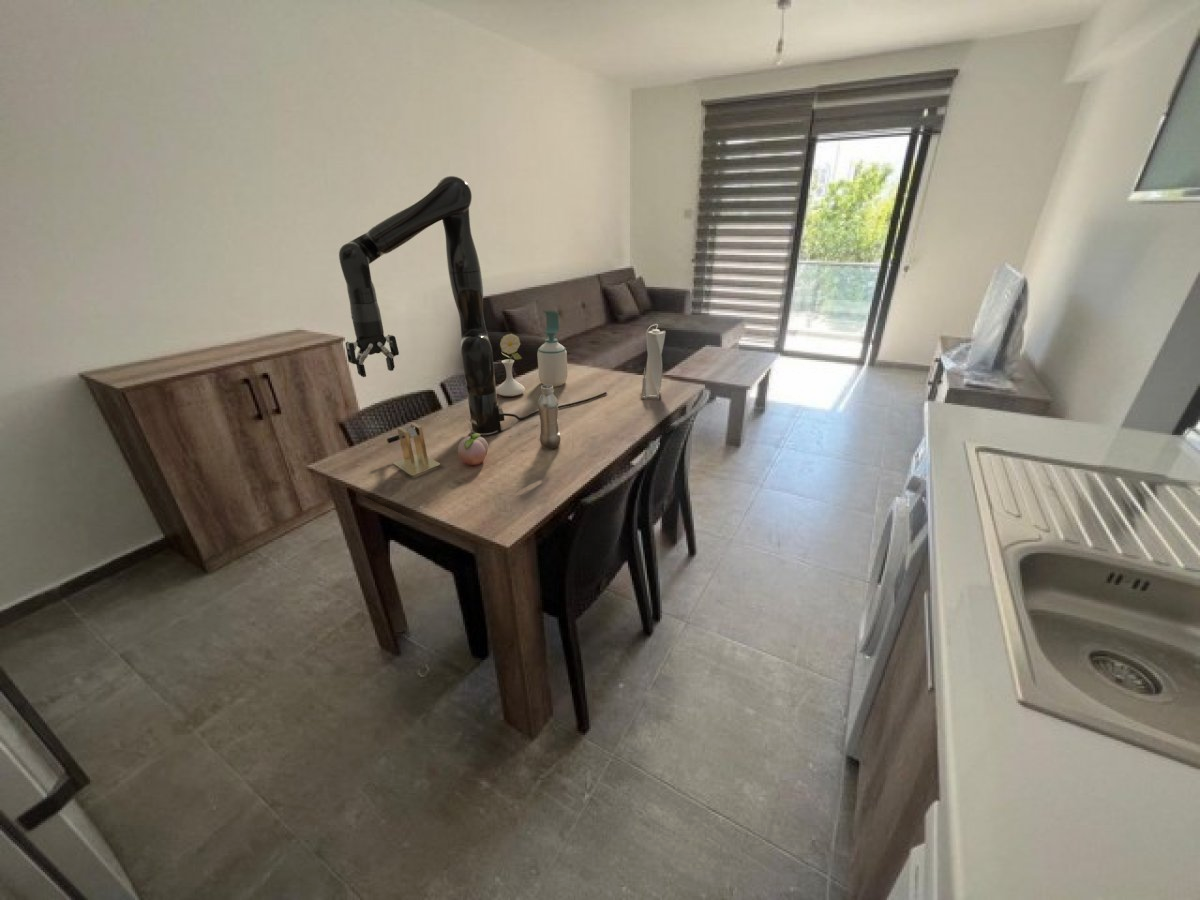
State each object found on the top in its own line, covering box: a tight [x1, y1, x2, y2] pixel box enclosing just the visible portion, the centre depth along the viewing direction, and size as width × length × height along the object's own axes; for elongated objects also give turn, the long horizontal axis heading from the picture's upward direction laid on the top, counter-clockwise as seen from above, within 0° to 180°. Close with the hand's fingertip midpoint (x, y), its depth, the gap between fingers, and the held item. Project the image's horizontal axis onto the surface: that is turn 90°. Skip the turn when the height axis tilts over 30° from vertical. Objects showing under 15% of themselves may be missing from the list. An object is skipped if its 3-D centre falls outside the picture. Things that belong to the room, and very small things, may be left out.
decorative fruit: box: [457, 433, 489, 466], centre depth 138 cm, size 9×8×10 cm
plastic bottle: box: [536, 384, 561, 450], centre depth 147 cm, size 6×7×20 cm
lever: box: [386, 427, 417, 444], centre depth 138 cm, size 12×6×2 cm, turn 48°
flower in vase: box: [496, 333, 526, 397], centre depth 189 cm, size 13×11×25 cm
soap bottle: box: [536, 310, 568, 388], centre depth 200 cm, size 12×12×31 cm
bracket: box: [392, 422, 442, 477], centre depth 137 cm, size 11×9×13 cm
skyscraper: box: [640, 323, 667, 401], centre depth 186 cm, size 8×8×28 cm
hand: (377, 373), depth 143 cm, fingers open, 8 cm apart
